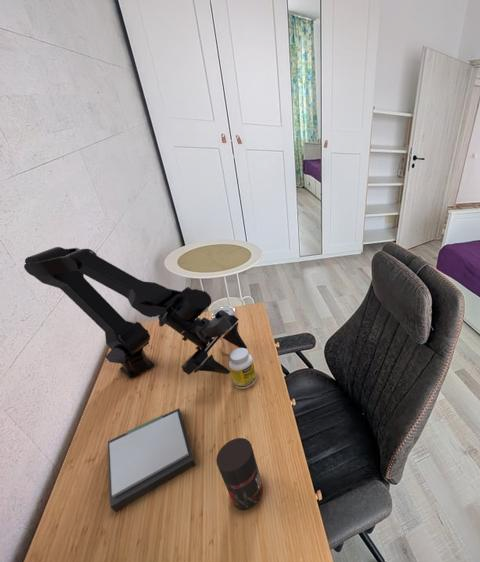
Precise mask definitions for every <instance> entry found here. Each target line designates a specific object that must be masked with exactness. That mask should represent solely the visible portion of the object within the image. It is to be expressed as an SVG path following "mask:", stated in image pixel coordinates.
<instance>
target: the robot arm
mask: <svg viewBox="0 0 480 562" xmlns="http://www.w3.org/2000/svg"><path fill="white" fill-rule="evenodd" d="M25 263H26V264H25ZM23 269H24V270H25V271H26V272H27V273H28V274H29V275H30V276H32V277H34V278H35V279H37V280H38V281H39V282H40V283H42V284H44V285H47V286H50V287H54V288H57V289H60V290H61V291H62V292H63V293H65V295H66V296H67V297H68V298H69V299H70V300H71V301H72V302H73V303H74V304H75V305H76V306H78V308H79V309H80V310H82V312H84V314H86V315H87V316H88V317H89V318H90V319H91V320H92V321H93V322H94V323H95V324H96V325H97V326H98V327H99V328H100V329H101V330H102V331H103V332H104V337H105V344H106V346H108V348H109V349H110V351H109V352H108V353H107V354H106V355H105V359H106V360H107V361H109V363H114V364H121V367H120V371H121V372H122V373H123V374H124V375H125V376H126V377H127V378H128V379H129V380H131V379H134V378H135V377H137V376H139V375H140V374H142V373H144V372H146V371H148V370H150V369H151V368H153V367H154V366H155V363H154V362H153V361H152V360H151V359H149V357H147V355H146V353H145V351H144V348H145V347H146V346H148V345H149V344H150V340H151V335H150V333H149V330H148V329H146V327H144V326H143V325H142V323H141V322H139V321H135V322H133V321H129V320H125V318H124V317H123V316H122V315H121V314H120V313H119V312H118V311H117V310H116V309H115V308H114V307H113V305H111V304H110V303H109V302H108V301H107V300H106V299H105V297H103V295H102V294H101V293H100V292H98V290H97V289H95V287H94V286H93V285H92V284H91V283H90V282H89V281H88V280H87V279H86V278H85V276H86V277H88V278H89V279H92V280H93V281H95V282H97V283H99V284H101V285H103V286H104V287H106V288H108V289H110V290H112V291H113V292H116V293H117V294H119V295H121V296H123V297H124V298H126V300H128V302H129V304H130V306H131V308H132V309H134V310H136V311H137V312H138V313H140V314H141V315H143V316H144V317H148V318H155V317H156V318H158V325H159V327H163V326H165V325H167V326H168V327H170V328H171V329H173V330H174V331H175V332H176V333H178V334H179V335H181V336H182V338H181V340H182V341H184V342H186V341H190V342H191V343H192V344H194V345H195V346H196V347H195V348H194V349H195V350H196V351H195V352H193V354H192V355H191V356H189V357H188V358H187V360H186V361H185V362H184V363H183V364H182V365H181V369H182V372H183V373H185V374H187V376H190V375H191V374H192V373H194V374H196V373H197V372H210V373H216V374H217V373H218V374H223V375H229V374H231V372H230V369H229V368H227V367H226V366H224V364H221V363H220V362H219V361H217V360H216V359H215V358H214V355H213V354H210V355H209V354H208V353H209V351H210V350H212V348H213V347H214V346H215V344H216V343H217V342H218V341H219V340H220V339H219V338H220V337H221V336H222V335H224V336H223V337H222V338H223V339H225V340H227V341H228V342H230V343H232V344H234V345H235V346H237V347H239V348H245V349H247V350H248V347H247V345H246V343H245V341H244V340H243V338H242V337H241V335H240V332H239V330H238V331H237V326H238V327H239V318H238V317H237V318H236V317H235V316H234V315H229V314H228V313H227V312H225V311H223V310H220V311H218V312H217V313H216V314H215V318H214V319H213V320H212V319H211V320H210V319H208V318H207V317H202V319H201V318H200V316H201V315H202V314H203V313H204V312H205V311H206V310H207V309H209V307H210V306H211V305H212V298H211V297H212V296H210V294H209V293H208V292H207V291H205V290H202V289H198V288H193V289H192V288H191V287H189V286H186V287H185V288H184V289H183V290H176V289H172V288H168V287H167V286H164V285H162V284H159V283H157V282H152V281H144V280H141V279H138V278H137V277H135V276H134V275H132V274H130V273H129V272H127V271H125V270H123V269H121V268H120V267H118V266H116V265H115V264H112V263H111V262H109V261H107V260H105V259H104V258H102V257H100V256H98V254H97V253H96V252H95V251H94V250H92V249H90V248H79V247H71V248H70V247H69V248H64V247H62V246H55V247H52V248H50V249H47V250H44V251H41V252H38V253H35V254H33V255H30V256H27V257H26V258H25V259H24V265H23ZM237 321H238V323H237V324H235V323H236V322H237Z"/></svg>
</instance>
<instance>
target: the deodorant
mask: <svg viewBox="0 0 480 562" xmlns="http://www.w3.org/2000/svg"><path fill="white" fill-rule="evenodd" d="M215 461H216V466H217V468H218V471H219V474H220V475H221V478H222V481H223V484H224V485H225V488H226V490H227V492H228V494H229V497H230V500H231V502H232V504H233V506H234V508H235V509H236V510H239V511H247V510H250V509H251V508H253V507H254V506H255V505H256V504H258V502H259V501H260V500H261V497H262V496H263V492H264V486H263V481H262V478H261V475H260V470H259V467H258V464H257V460H256V456H255V453H254V449H253V446H252V443H251V441H249V439H247V438H244V437H238V438H233V439H231V440H229V441H228V442H226V443H225V444H224V445H223V446H221V448H220V449H219V451H218V452H217V455H216V459H215Z"/></svg>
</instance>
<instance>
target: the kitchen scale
mask: <svg viewBox="0 0 480 562" xmlns="http://www.w3.org/2000/svg"><path fill="white" fill-rule="evenodd" d="M107 459H108V482H109V506H110V508H111V509H112V511H114V512H116V513H117V512H118V511H119V510H121V509H123V508H124V507H126V506H128V505H129V504H131V503H133V502H135V501H136V500H138V499H139V498H141V497H143V496H145V495H146V494H148V493H151V492H152V491H154V490H155V489H157V488H159V487H160V486H162V485H164V484H166V483H168V482H169V481H170V480H172V479H174V478H175V477H177V476H179V475H182V474H183V473H184V472H186V471H188V470H190V469H191V468H193V467H194V466H196V465H197V464H196V460H195V457H194V454H193V450H192V447H191V443H190V439H189V435H188V432H187V427H186V425H185V421H184V417H183V414H182V411H181V409H180V408H176V409H174V410H172V411H169V412H168V413H165V414H162V415H159V416H157V417H155V418H153V419H151V420H149V421H146V422H144V423H142V424H140V425H138V426H136V427H134V428H131V429H130V430H127V431H126V432H125V433H123V434H121V435H118V436H116V437H114V438H112V439H109V440H108V441H107Z"/></svg>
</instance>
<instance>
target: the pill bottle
mask: <svg viewBox="0 0 480 562" xmlns="http://www.w3.org/2000/svg"><path fill="white" fill-rule="evenodd" d="M229 359H230V360H229V362H228V367H229V368H228V369H229V371H230V375H231V379H232V381H233V382H232V383H233V386H234V387H235V388H237V389H239V390H241V389H242V390H243V389H248V388H250V387H251V386H253V385H254V384H255V382H256V380H257V373H256V368H255V363H254V359H253V356H252V355H251V354H250V353H249V350H248V348H247V349H245V348H238V349H235V350H233V351H232V352H231V354H230V355H229Z"/></svg>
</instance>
